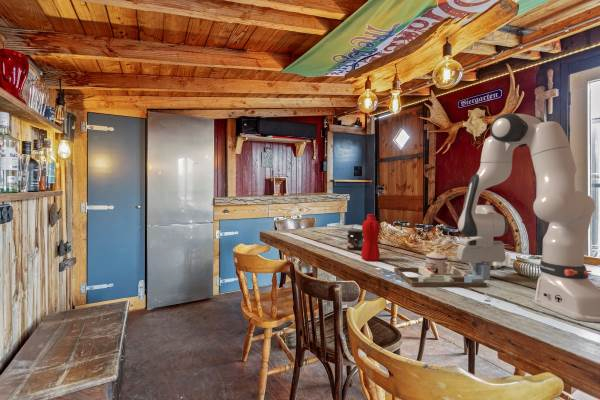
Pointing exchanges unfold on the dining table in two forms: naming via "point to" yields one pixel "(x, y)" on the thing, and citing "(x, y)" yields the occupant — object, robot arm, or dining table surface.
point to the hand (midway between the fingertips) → (480, 271)
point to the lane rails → (457, 283)
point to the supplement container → (355, 240)
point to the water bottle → (370, 239)
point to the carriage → (461, 271)
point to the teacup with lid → (437, 263)
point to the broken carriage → (450, 279)
